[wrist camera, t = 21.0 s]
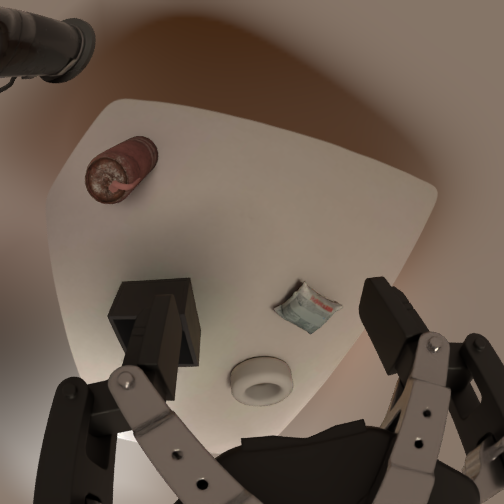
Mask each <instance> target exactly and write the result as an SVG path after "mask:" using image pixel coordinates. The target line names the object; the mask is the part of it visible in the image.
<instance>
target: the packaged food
mask: <svg viewBox="0 0 504 504" xmlns="http://www.w3.org/2000/svg"><path fill="white" fill-rule="evenodd" d="M342 307H343V306H342V305H341V304H337V303H333V302H331V301H329V300H327V299H325V298H324V297H322V296H320V295H318V294H316V292H315V291H314V290H313V289H311V288H310V287H309V286H308V285H307V284H306V282H305V281H304V283H303V284H302V286H301V287H300V288H299V290H298V291H297V292H294V293H293V296H291V297H290V298H289V299H288V300H287V301H286V302H285V303H283V304H282V305H280V306H278V308H277V307H276V308H274V311H275V312H276V313H277V314H278V315H280V316H281V317H282V318H283V319H285V320H287V321H289V322H291V323H293V324H295V325H297V326H298V327H300V328H302V329H304V330H305V331H307V332H308V333H309V334H312V333H313V332H315V331H316V330H317V329H319V328H320V327H321V326H322V325H323V324H324V323H326V322H327V320H328V319H329V318H330V317H331V316H332V315H333V314H334V313H335V312H337V311H338V310H340V309H341V308H342Z"/></svg>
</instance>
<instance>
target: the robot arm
mask: <svg viewBox="0 0 504 504" xmlns="http://www.w3.org/2000/svg"><path fill="white" fill-rule="evenodd" d="M84 47H85V36H84V33H83V31H82V30H81V29H80V28H79V27H78V26H75V25H72V24H67V23H64V22H61V21H58V20H55V19H52V18H48V17H45V16H41V15H37V14H33V13H29V12H25V11H21V10H16V9H11V8H5V7H0V78H5V77H12V78H11V80H10V82H9V83H8V84H7V85H5V86H3V87H1V88H0V93H1V92H3V91H5V90H7V89H8V88H9V87H11V86H12V85H13V83H14V81H15V79H16V78H17V77H19V76H22V79H31V78H34V77H36V76H60V75H63V74H65V73H67V72H68V71H70V70H71V69H72V68H73V67H74V66H75V65H76V64H77V62H78V61H79V59H80V58H81V56H82V54H83V51H84ZM359 315H360V319H361V321H362V323H363V325H364V327H365V329H366V331H367V333H368V335H369V337H370V339H371V341H372V343H373V345H374V347H375V349H376V351H377V353H378V355H379V358H380V360H381V362H382V364H383V366H384V368H385V370H386V373H387V375H392V374H396V373H397V374H398V376H399V378H398V380H397V383H396V386H395V390H394V393H393V396H392V399H391V402H390V405H389V408H388V411H387V414H386V416H385V418H384V420H383V422H382V424H381V426H380V428H379V427H373V426H365V422H364V419H361V420H357V421H353V422H349V423H344V424H340V425H335V426H333V427H331V428H329V429H327V430H325V431H323V432H320V433H318V434H316V435H313V436H311V437H308V438H293V437H282V436H263V437H252V438H241V444H242V445H241V446H238V447H235V448H232V449H230V450H228V451H226V452H224V453H222V454H221V455H219V456H218V457H216V458H214V457H213V456H212V455H211V454H210V453H209V452H208V451H207V450H206V449H205V447H204V446H203V445H202V444H201V443H200V442H199V441H198V440H197V438H196V437H195V436H194V435H193V434H192V433H191V431H190V430H189V429H188V428H187V427H186V425H185V424H184V423H183V422H182V421H181V419H180V418H179V417H178V416H177V414H176V413H175V412H174V411H172V410H171V409H170V408H169V407H168V405H167V404H166V400H168V401H174V400H175V390H176V380H177V371H178V362H179V354H180V346H181V338H182V326H181V320H180V317H179V313H178V309H177V305H176V301H175V297H174V295H173V294H167V295H155V296H154V299H153V302H152V306H151V308H143V309H142V311H141V312H140V313H139V314H138V315H137V317H136V320H135V323H134V326H133V327H134V328H133V329H132V333H131V336H130V339H129V343H128V346H127V350H126V353H125V357H124V360H123V364H122V367H119V368H117V369H116V370H115V371H113V373H112V374H111V375H110V377H109V379H108V380H105V381H102V382H97V383H92V384H88V385H87V384H86V382H85V381H84V380H83V379H81V378H79V377H70V378H67V379H65V380H63V381H62V382H61V383H60V384H59V386H58V387H57V390H56V392H55V396H54V399H53V403H52V406H51V410H50V414H49V418H48V422H47V426H46V430H45V434H44V439H43V443H42V448H41V453H40V459H39V464H38V470H37V476H36V483H35V491H34V500H33V504H113V481H114V464H115V453H116V443H117V433H120V432H125V431H130V430H133V432H134V433H133V435H134V437H135V439H136V440H137V442H138V443H139V445H140V446H141V448H142V449H143V451H144V452H145V454H146V455H147V457H148V458H149V460H150V461H151V463H152V464H153V465H154V467H155V468H156V470H157V471H158V472H159V474H160V475H161V476H162V478H163V479H164V480H165V482H166V483H167V484H168V485H169V487H170V488H171V489H172V490H173V492H174V493H175V494H176V495H177V497H178V498H179V499H178V500H177V501H176V502H175V503H174V504H482V503H484V502H485V501H487V500H488V499H490V498H491V497H493V496H494V495H496V494H497V493H498V492H500V491H502V490H504V365H503V363H502V362H501V360H500V359H499V357H498V355H497V354H496V352H495V351H494V349H493V347H492V346H491V344H490V343H489V341H488V340H487V339H486V338H485V337H484V336H482V335H480V334H476V333H472V334H469V335H468V336H467V337H466V339H465V341H464V342H463V343H449V342H448V341H447V340H446V338H445V337H443V336H442V335H441V334H439V333H436V332H430V331H429V330H428V328H427V327H426V325H425V324H424V322H423V321H422V319H421V318H420V316H419V315H418V313H417V312H416V311H415V309H413V306H412V305H411V303H409V301H408V299H407V298H406V296H405V295H404V294H403V292H401V291H400V290H398V289H397V288H396V287H394V286H393V287H391V286H390V284H389V283H388V282H387V280H386V279H385V278H384V277H383V276H381V277H373V278H367V279H366V280H365V283H364V287H363V292H362V296H361V300H360V304H359ZM472 379H474V381H475V383H476V384H477V386H478V389H479V391H480V393H481V396H482V400H481V403H480V402H479V400H478V398H477V396H476V394H475V392H474V390H473V388H472V386H471V384H470V382H471V381H472ZM448 409H449V412H450V413H451V416H452V418H453V421H454V424H455V426H456V429H457V431H458V434H459V436H460V439H461V442H462V445H463V447H464V450H465V453H466V459H465V465H464V466H463V468H462V473H461V472H459V471H457V470H455V469H453V468H451V467H450V466H448V465H446V464H444V463H443V462H441V461H439V460H438V459H437V458H438V454H439V450H440V447H441V442H442V438H443V433H444V429H445V424H446V419H447V414H448Z"/></svg>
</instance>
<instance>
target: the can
mask: <svg viewBox="0 0 504 504" xmlns="http://www.w3.org/2000/svg"><path fill="white" fill-rule="evenodd" d="M157 160H158V152H157V148H156V146H155V144H154V143H153V142H152V141H151V140H150V139H148V138H146V137H143V136H136V137H133V138H130V139H128V140H126V141H124V142H122V143H120V144H118V145H116V146H114V147H112V148H110V149H108V150H106V151H105V152H103V153H101V154H99V155H97V156H96V157H95V158H94V159H92V161H91V162H90V164H89V165H88V167H87V171H86V175H85V184H86V188H87V191H88V192H89V194H90V195H91V197H93V198H94V199H95V200H96V201H98V202H101V203H103V204H115V203H119V202H121V201H122V200H124V199H125V198H126V197H127V196H128V195H129V194H130V193H131V192H132V191H133V190H134V188H135V187H136V186H137V185H138V184H139V183H140V182H141V181H142V180H143V179H144V178H145V177H146V175H147V174H148V173H149V172H150V171H151V170H152V169H153V168H154V167H155V165H156V163H157Z"/></svg>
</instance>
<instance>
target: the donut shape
mask: <svg viewBox="0 0 504 504" xmlns="http://www.w3.org/2000/svg"><path fill="white" fill-rule="evenodd" d="M261 383H265V384H261ZM292 390H293V379H292V374H291V370H290V368H289V366H288V365H287V364H286V363H285V362H284V361H282V360H280V359H277V358H272V357H257V358H252V359H249V360H246V361H244V362H242V363H240V364H239V365H237V366H236V367H235V368H234V370H233V371H232V373H231V392H232V395H233V397H234V398H235V399H236V400H237V401H239V402H240V403H242V404H245V405H249V406H268V405H273V404H276V403H278V402H280V401H282V400H284V399H285V398H287V397H288V396H289V395H290V393H291V392H292Z"/></svg>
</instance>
